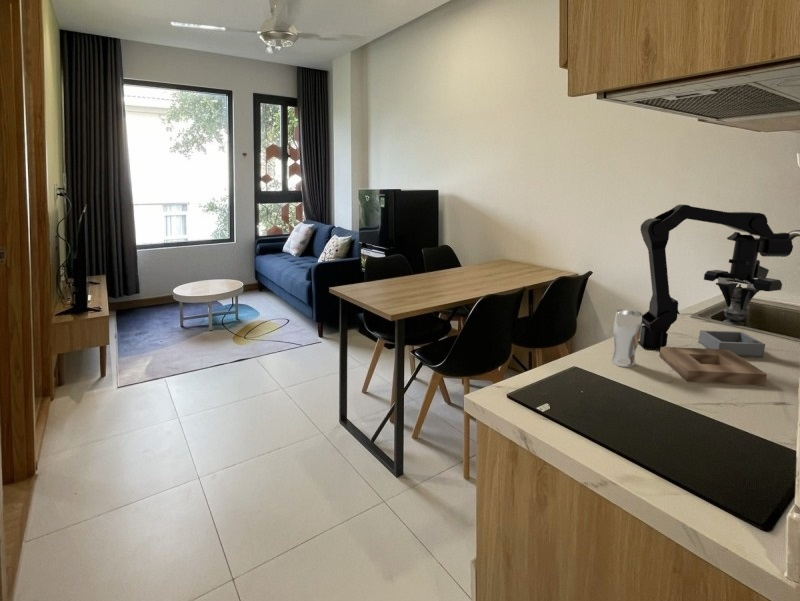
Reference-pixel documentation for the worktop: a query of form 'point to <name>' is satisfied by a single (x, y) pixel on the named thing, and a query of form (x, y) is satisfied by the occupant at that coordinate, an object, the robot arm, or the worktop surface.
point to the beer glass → (626, 336)
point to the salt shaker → (735, 309)
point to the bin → (732, 342)
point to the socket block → (712, 366)
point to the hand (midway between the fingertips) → (736, 308)
